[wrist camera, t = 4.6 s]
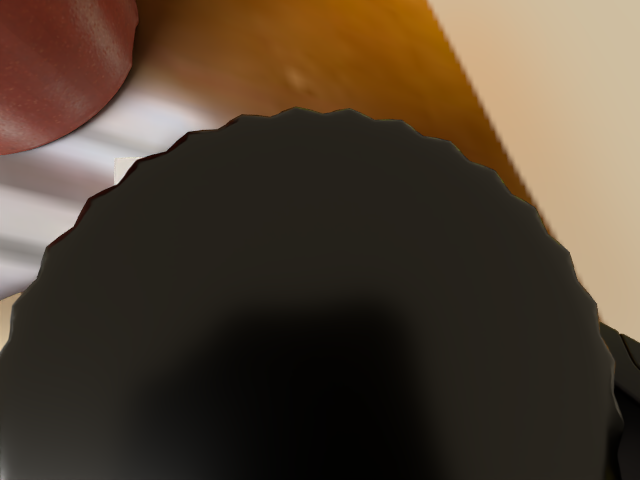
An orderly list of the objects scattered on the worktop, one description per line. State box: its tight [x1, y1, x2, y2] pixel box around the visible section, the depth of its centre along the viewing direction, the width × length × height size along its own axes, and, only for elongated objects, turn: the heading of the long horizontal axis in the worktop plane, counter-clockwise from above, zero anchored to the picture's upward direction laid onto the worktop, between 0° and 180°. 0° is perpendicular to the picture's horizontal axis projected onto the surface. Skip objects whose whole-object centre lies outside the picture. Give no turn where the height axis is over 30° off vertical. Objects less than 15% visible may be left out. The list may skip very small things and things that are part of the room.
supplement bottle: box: [0, 107, 625, 480], centre depth 8 cm, size 7×7×12 cm
